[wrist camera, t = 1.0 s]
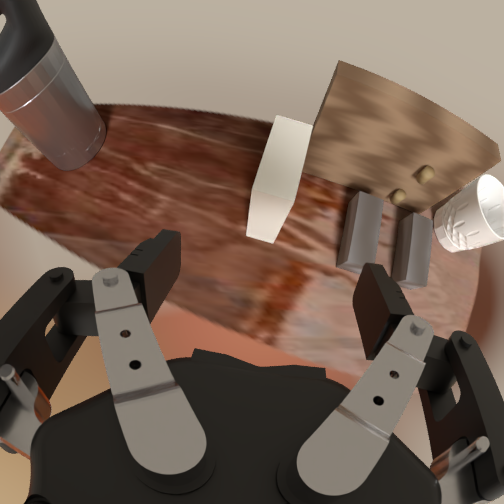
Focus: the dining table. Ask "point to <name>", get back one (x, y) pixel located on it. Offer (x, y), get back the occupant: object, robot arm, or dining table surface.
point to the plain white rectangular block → (277, 178)
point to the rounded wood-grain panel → (391, 164)
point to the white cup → (472, 216)
